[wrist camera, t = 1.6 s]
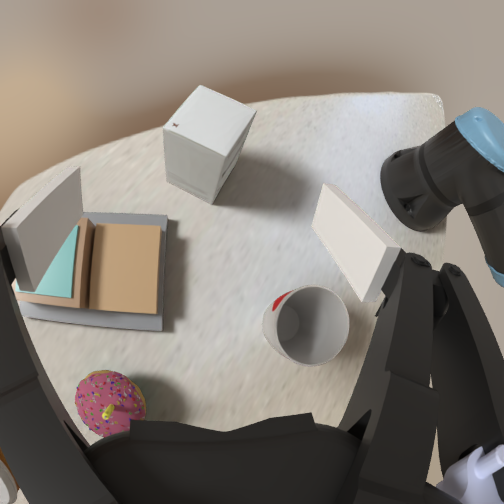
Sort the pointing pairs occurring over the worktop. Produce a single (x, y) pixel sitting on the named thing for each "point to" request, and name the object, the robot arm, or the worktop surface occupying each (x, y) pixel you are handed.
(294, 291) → the cup
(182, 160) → the supplement box
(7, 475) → the disposable coffee cup
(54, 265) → the build base
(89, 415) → the cupcake
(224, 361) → the worktop surface
